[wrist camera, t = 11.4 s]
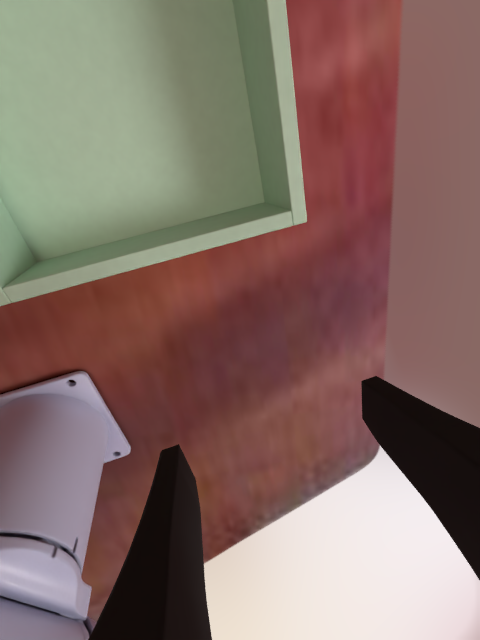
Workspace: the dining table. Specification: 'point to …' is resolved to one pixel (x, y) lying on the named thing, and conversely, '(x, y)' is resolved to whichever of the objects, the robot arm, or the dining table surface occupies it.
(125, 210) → the bin
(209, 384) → the dining table surface
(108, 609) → the robot arm
